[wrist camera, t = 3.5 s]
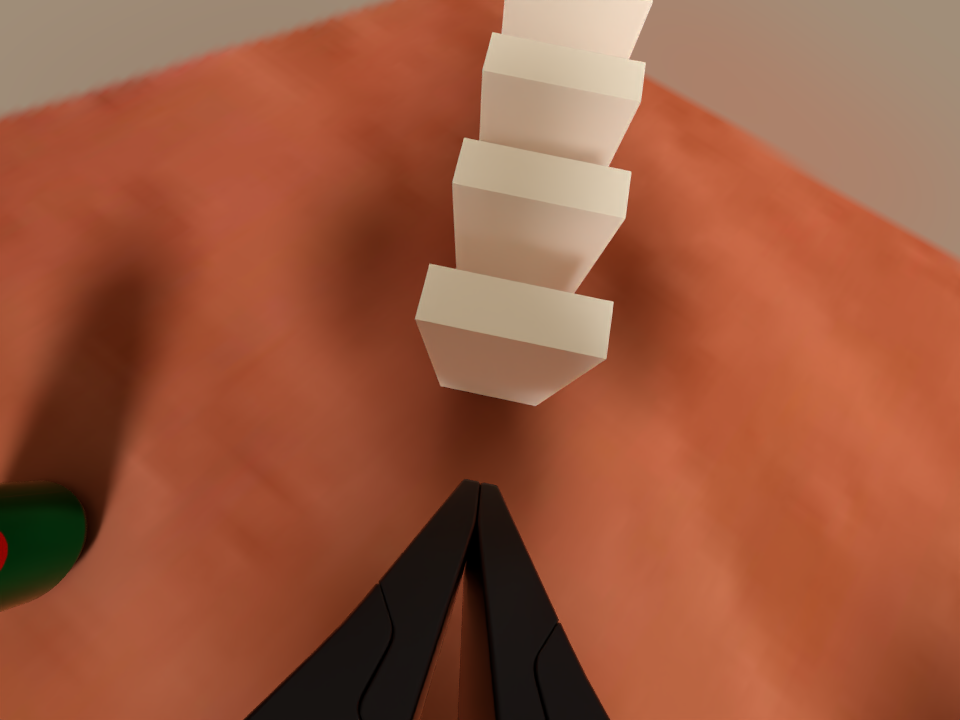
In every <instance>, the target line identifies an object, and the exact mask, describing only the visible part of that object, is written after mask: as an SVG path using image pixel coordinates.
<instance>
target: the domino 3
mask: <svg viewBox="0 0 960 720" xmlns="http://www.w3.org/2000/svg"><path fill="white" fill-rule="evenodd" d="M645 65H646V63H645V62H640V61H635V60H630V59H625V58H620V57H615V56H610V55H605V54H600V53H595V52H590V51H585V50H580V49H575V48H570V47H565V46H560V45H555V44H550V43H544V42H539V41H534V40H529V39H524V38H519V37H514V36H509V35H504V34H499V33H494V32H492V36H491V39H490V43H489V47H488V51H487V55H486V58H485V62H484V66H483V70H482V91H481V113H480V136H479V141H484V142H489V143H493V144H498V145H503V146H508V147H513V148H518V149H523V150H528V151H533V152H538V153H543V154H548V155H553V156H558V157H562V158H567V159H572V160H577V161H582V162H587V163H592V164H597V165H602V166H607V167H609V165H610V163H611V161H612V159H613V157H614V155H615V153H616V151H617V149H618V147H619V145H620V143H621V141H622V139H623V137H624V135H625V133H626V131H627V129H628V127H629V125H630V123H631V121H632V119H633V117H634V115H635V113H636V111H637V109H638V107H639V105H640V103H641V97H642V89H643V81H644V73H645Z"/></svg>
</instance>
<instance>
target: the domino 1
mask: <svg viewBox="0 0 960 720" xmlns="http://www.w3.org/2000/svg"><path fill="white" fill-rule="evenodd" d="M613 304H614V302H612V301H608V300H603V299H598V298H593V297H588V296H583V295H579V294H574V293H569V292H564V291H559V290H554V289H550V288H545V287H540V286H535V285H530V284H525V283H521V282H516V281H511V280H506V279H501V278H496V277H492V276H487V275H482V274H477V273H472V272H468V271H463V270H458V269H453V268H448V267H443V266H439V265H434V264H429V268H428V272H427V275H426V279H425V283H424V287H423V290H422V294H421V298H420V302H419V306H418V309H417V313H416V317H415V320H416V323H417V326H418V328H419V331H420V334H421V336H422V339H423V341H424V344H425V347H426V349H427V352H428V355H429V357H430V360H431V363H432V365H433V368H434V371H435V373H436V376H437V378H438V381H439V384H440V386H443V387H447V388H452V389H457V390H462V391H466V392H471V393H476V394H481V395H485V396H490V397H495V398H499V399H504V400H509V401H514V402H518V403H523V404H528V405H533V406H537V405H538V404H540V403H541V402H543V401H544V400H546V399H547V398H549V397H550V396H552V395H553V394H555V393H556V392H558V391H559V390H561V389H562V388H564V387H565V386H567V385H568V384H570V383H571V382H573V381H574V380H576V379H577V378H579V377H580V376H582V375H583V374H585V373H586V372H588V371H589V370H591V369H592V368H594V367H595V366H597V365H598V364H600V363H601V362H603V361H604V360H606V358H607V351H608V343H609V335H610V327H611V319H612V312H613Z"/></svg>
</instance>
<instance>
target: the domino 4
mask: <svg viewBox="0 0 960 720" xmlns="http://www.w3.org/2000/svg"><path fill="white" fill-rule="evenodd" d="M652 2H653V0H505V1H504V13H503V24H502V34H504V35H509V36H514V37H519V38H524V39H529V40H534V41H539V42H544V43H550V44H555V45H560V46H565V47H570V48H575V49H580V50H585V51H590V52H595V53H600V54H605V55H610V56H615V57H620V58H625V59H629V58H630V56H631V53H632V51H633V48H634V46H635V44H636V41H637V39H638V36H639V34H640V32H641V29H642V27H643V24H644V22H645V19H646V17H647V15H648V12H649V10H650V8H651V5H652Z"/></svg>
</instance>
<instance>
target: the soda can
mask: <svg viewBox="0 0 960 720" xmlns="http://www.w3.org/2000/svg"><path fill="white" fill-rule="evenodd" d="M86 536H87V517H86V513H85V511H84V508H83V506H82V504H81V503H80V501H79V500H78V498H77V497H76V496H75V495H74V494H73V493H72V492H71V491H70V490H68V489H67V488H65V487H64V486H62V485H60V484H57V483H54V482H50V481H39V480H37V481H22V482H7V483H0V612H1V611H4V610H7V609H10V608H13V607H16V606H19V605H22V604H25V603H27V602H30V601H32V600H34V599H37V598H39V597H40V596H42V595H43V594H45V593H47V592H48V591H50V590H51V589H52V588H53V587H55V586H56V585H57V584H58V583H59V582H60V581H61V580H62V579H63V578H64V577H65V576H66V574H67V573H68V572H69V571H70V569H71V568H72V567H73V565H74V564H75V562H76V560H77V559H78V557H79V555H80V553H81V551H82V549H83V546H84V543H85V540H86Z"/></svg>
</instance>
